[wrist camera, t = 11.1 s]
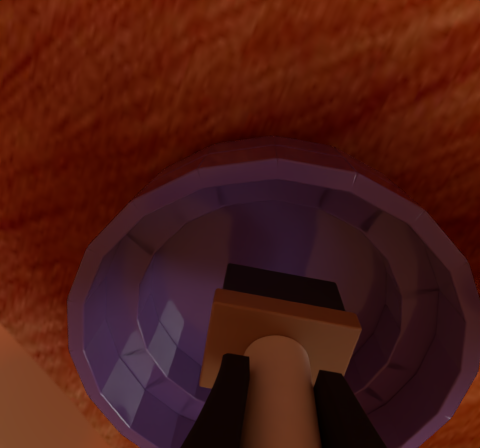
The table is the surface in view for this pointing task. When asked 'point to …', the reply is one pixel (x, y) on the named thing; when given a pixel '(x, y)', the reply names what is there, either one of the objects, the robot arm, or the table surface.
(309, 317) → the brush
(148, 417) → the bowl
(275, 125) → the table surface
